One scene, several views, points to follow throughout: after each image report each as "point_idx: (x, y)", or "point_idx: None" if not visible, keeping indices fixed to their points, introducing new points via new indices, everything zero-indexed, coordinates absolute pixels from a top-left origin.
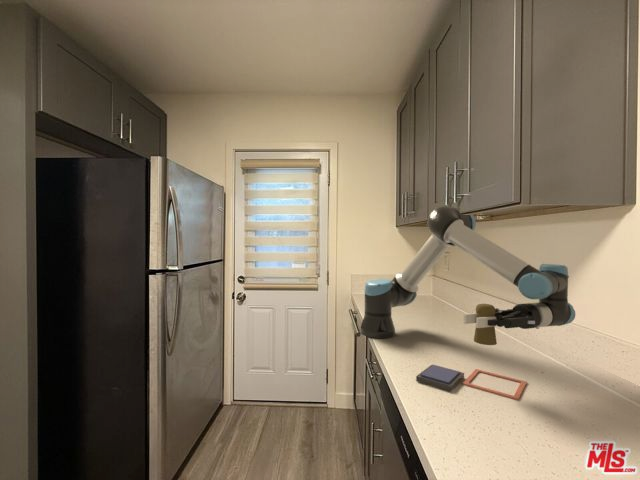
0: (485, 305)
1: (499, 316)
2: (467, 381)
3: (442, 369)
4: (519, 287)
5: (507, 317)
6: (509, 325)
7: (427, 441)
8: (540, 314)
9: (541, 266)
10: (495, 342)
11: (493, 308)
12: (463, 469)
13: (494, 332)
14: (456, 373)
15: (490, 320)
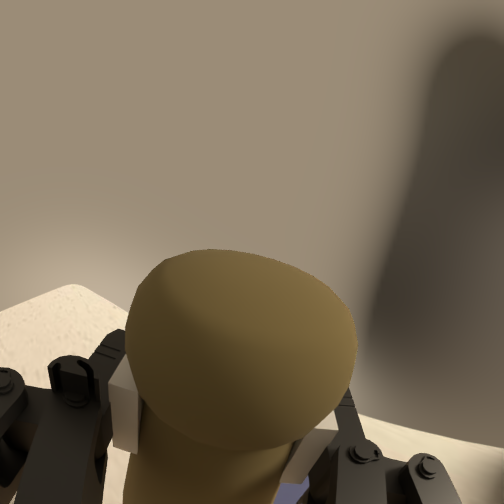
0: (219, 251)
1: (69, 364)
2: None
3: (291, 486)
4: None
5: (19, 496)
6: (7, 469)
7: (108, 305)
8: None
9: None
10: (123, 502)
11: (140, 291)
12: (58, 292)
13: (128, 474)
14: None
15: (122, 334)
